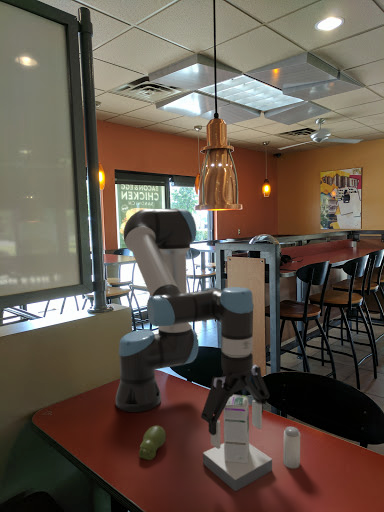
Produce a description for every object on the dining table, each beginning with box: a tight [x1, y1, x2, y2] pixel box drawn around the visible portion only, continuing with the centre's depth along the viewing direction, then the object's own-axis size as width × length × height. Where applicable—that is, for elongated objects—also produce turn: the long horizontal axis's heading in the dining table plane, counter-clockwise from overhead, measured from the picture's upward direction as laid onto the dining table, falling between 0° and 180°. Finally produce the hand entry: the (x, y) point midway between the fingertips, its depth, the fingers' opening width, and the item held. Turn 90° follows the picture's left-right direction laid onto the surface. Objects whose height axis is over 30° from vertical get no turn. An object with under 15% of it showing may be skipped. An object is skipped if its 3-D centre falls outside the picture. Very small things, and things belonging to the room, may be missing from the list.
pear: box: [138, 425, 167, 461], centre depth 101 cm, size 6×5×10 cm
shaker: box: [282, 426, 301, 469], centre depth 95 cm, size 4×4×9 cm
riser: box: [202, 442, 273, 492], centre depth 94 cm, size 12×12×3 cm
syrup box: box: [223, 394, 250, 464], centre depth 93 cm, size 6×6×14 cm
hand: (237, 435), depth 93 cm, fingers open, 13 cm apart
